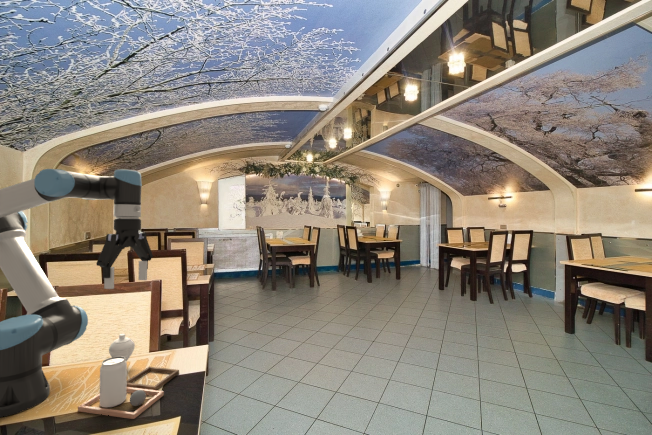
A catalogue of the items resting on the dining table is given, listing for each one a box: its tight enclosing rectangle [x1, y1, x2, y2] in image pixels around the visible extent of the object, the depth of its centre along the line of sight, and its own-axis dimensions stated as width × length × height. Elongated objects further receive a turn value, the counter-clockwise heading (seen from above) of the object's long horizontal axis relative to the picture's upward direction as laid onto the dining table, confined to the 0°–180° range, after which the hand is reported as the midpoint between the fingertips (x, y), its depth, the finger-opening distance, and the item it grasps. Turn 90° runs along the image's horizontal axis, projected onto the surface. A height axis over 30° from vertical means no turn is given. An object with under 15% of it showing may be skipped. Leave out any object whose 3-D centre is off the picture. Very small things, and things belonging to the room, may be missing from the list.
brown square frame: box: [127, 366, 180, 391], centre depth 105 cm, size 12×12×1 cm
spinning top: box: [108, 333, 136, 363], centre depth 113 cm, size 8×8×12 cm
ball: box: [129, 390, 147, 407], centre depth 91 cm, size 4×4×4 cm
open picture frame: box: [77, 387, 165, 420], centre depth 92 cm, size 18×12×1 cm, turn 80°
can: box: [99, 356, 128, 409], centre depth 92 cm, size 6×6×12 cm
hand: (127, 284), depth 103 cm, fingers open, 13 cm apart
